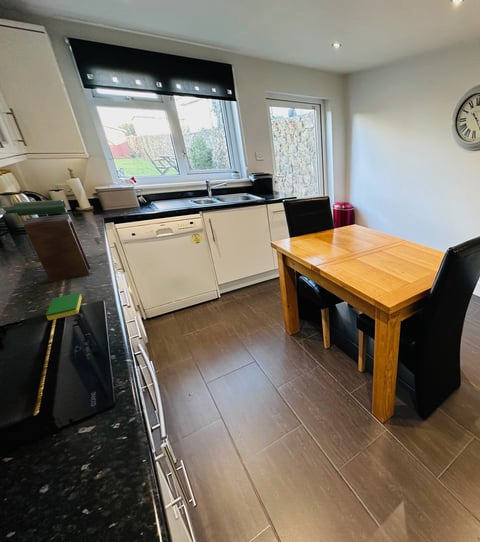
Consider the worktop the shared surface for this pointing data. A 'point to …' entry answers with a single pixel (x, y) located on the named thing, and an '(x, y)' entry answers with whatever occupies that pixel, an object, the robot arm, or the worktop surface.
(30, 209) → the bottle
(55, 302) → the dish sponge
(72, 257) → the dark brown block
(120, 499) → the worktop surface
